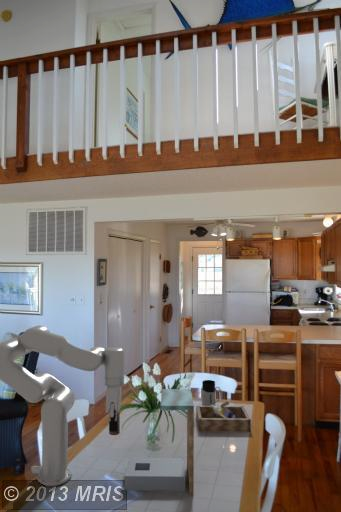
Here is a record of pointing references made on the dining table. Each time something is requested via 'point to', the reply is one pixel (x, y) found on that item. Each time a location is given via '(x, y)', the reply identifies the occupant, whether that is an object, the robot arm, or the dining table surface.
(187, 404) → the glass-topped wooden stand
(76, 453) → the dining table surface
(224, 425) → the display tray
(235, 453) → the dining table surface
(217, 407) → the fish sculpture
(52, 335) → the robot arm
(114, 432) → the peg
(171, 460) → the socket block
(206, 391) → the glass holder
